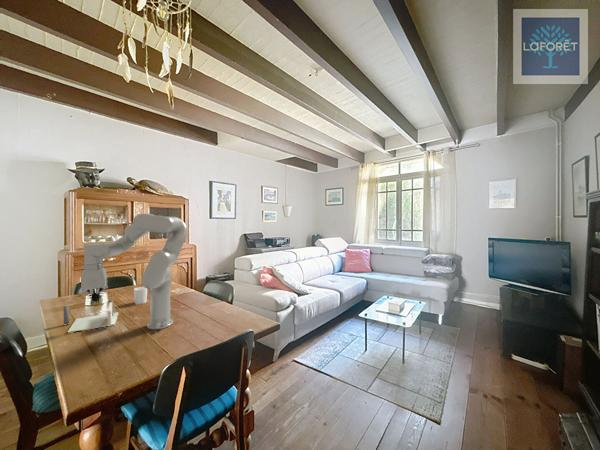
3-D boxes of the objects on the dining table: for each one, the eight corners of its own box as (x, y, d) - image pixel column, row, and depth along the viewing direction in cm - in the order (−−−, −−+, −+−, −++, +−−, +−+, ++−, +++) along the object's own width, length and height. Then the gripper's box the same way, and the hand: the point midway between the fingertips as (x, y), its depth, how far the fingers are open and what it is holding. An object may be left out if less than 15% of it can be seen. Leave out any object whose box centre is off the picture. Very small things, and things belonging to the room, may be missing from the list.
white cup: (150, 301, 169) (150, 286, 169) (141, 305, 162) (141, 290, 161) (139, 300, 170) (139, 286, 170) (130, 304, 162) (130, 289, 162)
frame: (114, 325, 130) (114, 307, 130) (55, 336, 118) (55, 316, 118) (118, 313, 146) (118, 297, 146) (66, 322, 134) (66, 304, 134)
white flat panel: (109, 316, 139) (109, 302, 139) (112, 315, 139) (112, 302, 139) (107, 326, 126) (107, 311, 126) (110, 325, 127) (110, 310, 126)
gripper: (72, 269, 122) (74, 305, 122) (109, 266, 128) (111, 300, 128) (79, 267, 128) (80, 301, 129) (113, 264, 135) (115, 296, 135)
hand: (95, 300), depth 129 cm, fingers closed
